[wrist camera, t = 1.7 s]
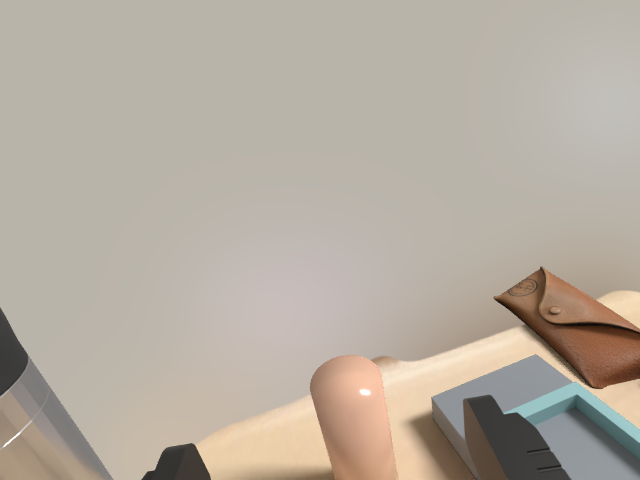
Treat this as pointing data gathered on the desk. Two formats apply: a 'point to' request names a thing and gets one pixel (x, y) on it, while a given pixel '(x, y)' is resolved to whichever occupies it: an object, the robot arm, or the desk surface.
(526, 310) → the sunglasses case
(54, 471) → the robot arm
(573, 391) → the platform
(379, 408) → the glossy peach cylinder
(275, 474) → the desk surface
